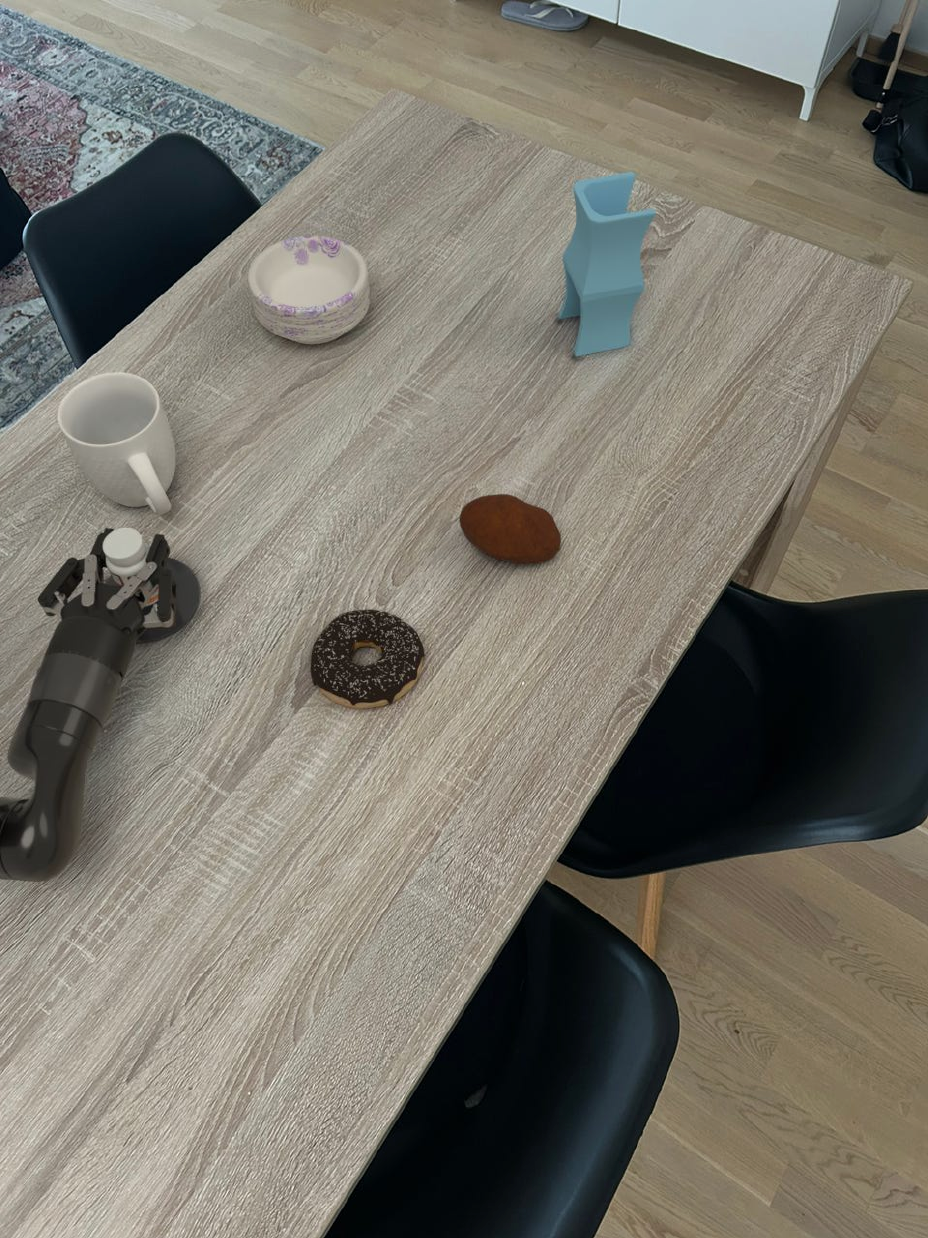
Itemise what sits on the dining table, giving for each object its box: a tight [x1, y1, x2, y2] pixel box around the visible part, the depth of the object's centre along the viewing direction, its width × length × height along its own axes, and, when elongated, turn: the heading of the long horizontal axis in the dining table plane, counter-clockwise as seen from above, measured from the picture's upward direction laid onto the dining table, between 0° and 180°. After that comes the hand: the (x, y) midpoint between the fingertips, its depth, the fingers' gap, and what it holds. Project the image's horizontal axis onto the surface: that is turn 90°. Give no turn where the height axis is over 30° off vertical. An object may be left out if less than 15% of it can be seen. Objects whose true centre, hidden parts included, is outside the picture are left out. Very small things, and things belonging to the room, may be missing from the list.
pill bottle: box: [103, 527, 159, 606], centre depth 109 cm, size 5×5×8 cm
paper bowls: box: [247, 235, 371, 345], centre depth 134 cm, size 15×15×8 cm
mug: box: [56, 371, 177, 516], centre depth 116 cm, size 15×11×13 cm
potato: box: [458, 493, 562, 565], centre depth 114 cm, size 8×12×8 cm, turn 78°
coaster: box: [104, 557, 201, 643], centre depth 114 cm, size 11×11×1 cm
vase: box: [557, 171, 657, 357], centre depth 128 cm, size 8×8×20 cm
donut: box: [310, 609, 426, 710], centre depth 108 cm, size 11×12×4 cm
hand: (137, 536), depth 108 cm, fingers closed on pill bottle, 4 cm apart
